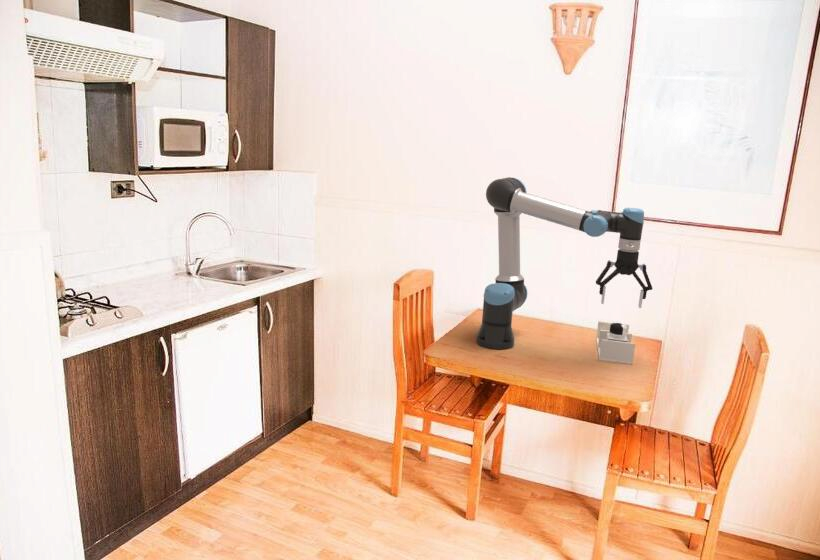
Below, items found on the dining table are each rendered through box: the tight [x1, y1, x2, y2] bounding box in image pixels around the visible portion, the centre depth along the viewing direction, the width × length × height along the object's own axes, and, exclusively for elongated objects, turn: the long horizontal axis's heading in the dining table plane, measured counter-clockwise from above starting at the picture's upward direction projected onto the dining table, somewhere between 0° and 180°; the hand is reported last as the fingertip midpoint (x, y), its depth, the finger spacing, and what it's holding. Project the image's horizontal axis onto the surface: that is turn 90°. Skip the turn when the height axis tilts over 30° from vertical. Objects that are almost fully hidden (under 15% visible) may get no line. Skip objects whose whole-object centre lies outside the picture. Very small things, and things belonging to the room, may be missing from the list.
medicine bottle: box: [606, 322, 628, 342], centre depth 239 cm, size 7×7×12 cm
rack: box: [595, 320, 636, 365], centre depth 245 cm, size 12×25×8 cm, turn 166°
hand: (620, 305), depth 236 cm, fingers open, 13 cm apart
